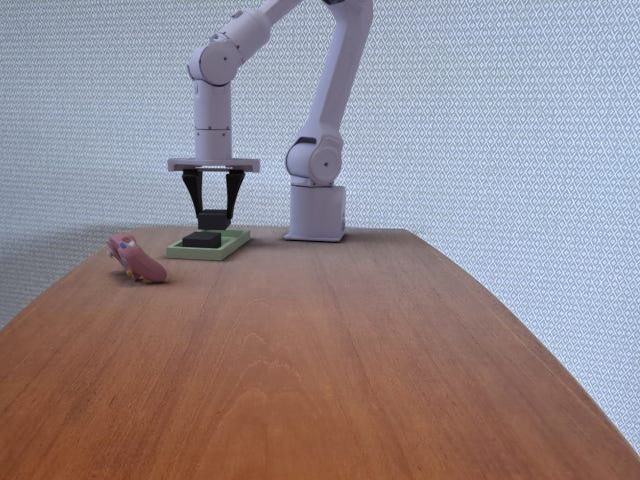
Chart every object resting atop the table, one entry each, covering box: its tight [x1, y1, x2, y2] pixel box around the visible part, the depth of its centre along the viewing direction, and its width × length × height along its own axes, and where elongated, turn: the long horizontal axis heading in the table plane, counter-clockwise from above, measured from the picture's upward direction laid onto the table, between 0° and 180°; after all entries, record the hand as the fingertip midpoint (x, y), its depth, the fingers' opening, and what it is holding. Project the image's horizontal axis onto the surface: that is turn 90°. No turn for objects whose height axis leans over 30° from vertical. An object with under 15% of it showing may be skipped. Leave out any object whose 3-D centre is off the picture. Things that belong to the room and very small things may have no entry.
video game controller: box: [106, 232, 167, 283], centre depth 89 cm, size 10×5×7 cm, turn 25°
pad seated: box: [181, 231, 222, 249], centre depth 104 cm, size 6×4×2 cm
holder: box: [165, 228, 251, 262], centre depth 108 cm, size 18×9×2 cm, turn 166°
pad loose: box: [197, 208, 232, 230], centre depth 109 cm, size 6×4×2 cm
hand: (215, 218), depth 109 cm, fingers closed on pad loose, 4 cm apart
